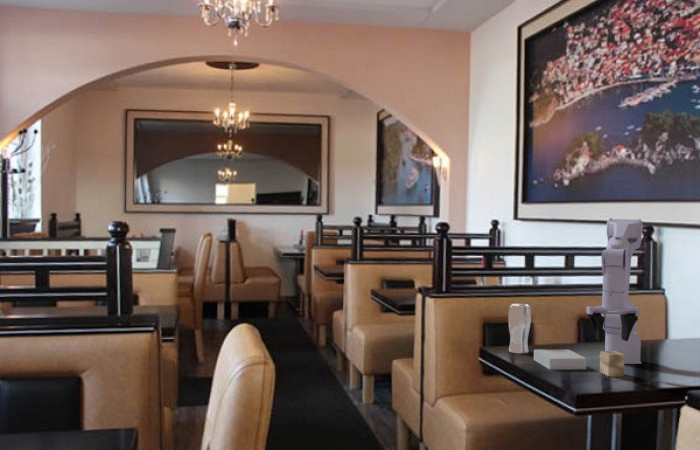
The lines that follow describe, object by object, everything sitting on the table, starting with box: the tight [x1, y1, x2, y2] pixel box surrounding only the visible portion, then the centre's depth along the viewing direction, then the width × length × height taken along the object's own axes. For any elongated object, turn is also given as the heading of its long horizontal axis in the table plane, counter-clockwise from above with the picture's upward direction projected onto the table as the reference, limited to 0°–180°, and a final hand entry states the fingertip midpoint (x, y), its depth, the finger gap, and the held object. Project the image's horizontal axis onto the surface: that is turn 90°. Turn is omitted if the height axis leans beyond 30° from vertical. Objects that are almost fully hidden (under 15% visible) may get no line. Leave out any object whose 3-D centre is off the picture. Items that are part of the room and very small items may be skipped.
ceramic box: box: [533, 349, 588, 370], centre depth 179 cm, size 11×11×4 cm
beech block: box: [599, 350, 625, 378], centre depth 170 cm, size 4×4×6 cm
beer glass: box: [507, 302, 532, 355], centre depth 194 cm, size 7×7×15 cm
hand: (611, 340), depth 169 cm, fingers open, 7 cm apart
